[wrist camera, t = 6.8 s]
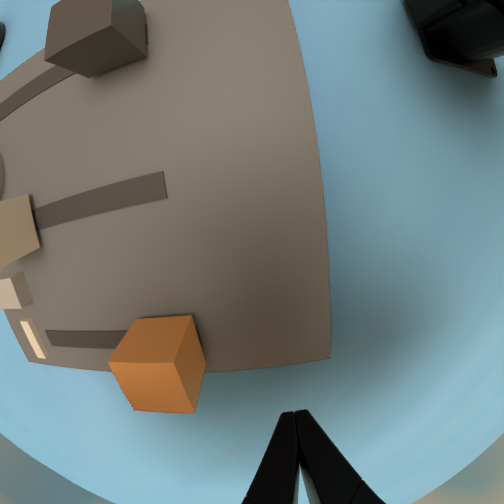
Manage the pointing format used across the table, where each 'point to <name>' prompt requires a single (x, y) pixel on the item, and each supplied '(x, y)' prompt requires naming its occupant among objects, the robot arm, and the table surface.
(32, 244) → the ivory slider
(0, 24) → the supplement bottle
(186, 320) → the orange slider
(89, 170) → the control board
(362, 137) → the table surface
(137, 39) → the dark brown slider
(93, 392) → the table surface
